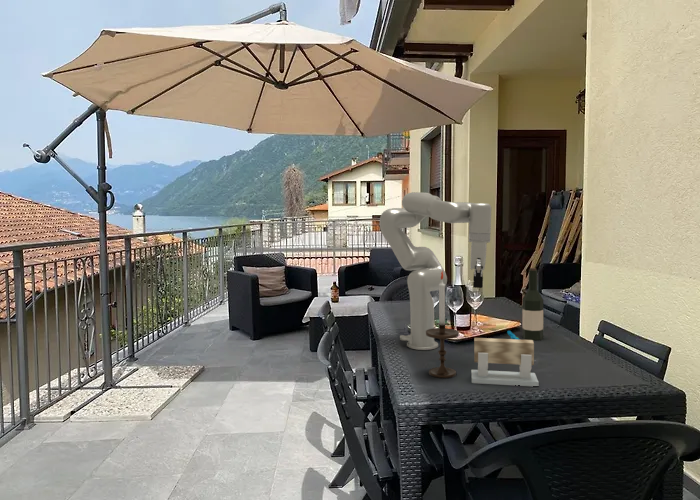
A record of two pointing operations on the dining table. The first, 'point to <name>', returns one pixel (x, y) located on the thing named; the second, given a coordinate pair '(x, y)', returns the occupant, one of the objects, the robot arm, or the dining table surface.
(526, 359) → the cradle
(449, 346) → the dining table surface
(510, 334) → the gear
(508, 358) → the rail
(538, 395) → the dining table surface
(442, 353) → the candlestick
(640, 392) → the dining table surface
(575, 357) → the dining table surface
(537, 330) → the wine bottle
